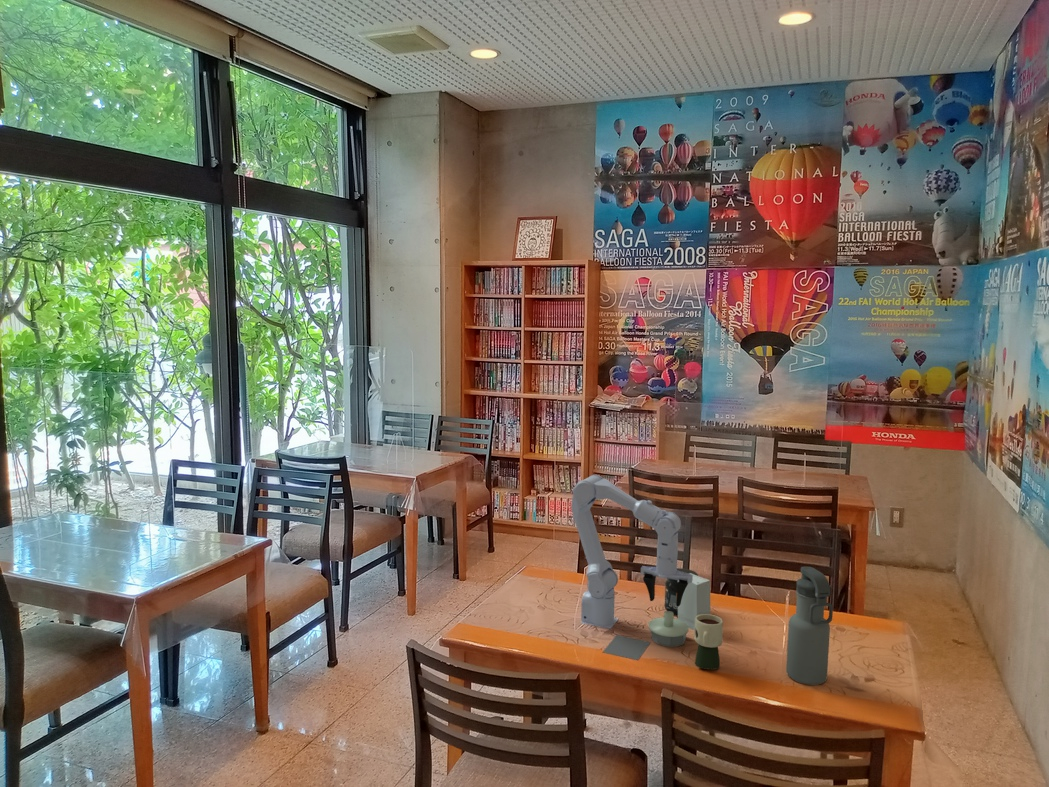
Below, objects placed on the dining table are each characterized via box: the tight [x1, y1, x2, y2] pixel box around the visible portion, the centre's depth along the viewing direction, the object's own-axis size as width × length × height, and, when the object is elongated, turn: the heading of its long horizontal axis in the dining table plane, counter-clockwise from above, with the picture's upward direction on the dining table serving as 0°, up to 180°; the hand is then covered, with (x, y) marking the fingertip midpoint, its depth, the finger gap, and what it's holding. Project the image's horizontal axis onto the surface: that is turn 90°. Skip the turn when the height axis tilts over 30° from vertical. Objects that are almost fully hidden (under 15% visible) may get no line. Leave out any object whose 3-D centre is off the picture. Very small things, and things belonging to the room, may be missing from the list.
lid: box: [648, 610, 689, 637], centre depth 205 cm, size 11×11×4 cm
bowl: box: [650, 630, 687, 648], centre depth 205 cm, size 9×9×4 cm
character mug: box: [694, 613, 724, 670], centre depth 190 cm, size 11×7×13 cm, turn 156°
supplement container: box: [663, 567, 699, 616], centre depth 226 cm, size 10×10×12 cm
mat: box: [602, 634, 651, 661], centre depth 201 cm, size 10×12×1 cm
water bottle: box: [785, 566, 834, 686], centre depth 184 cm, size 10×10×28 cm
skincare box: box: [677, 573, 711, 631], centre depth 215 cm, size 8×6×15 cm
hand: (665, 602), depth 207 cm, fingers open, 7 cm apart
